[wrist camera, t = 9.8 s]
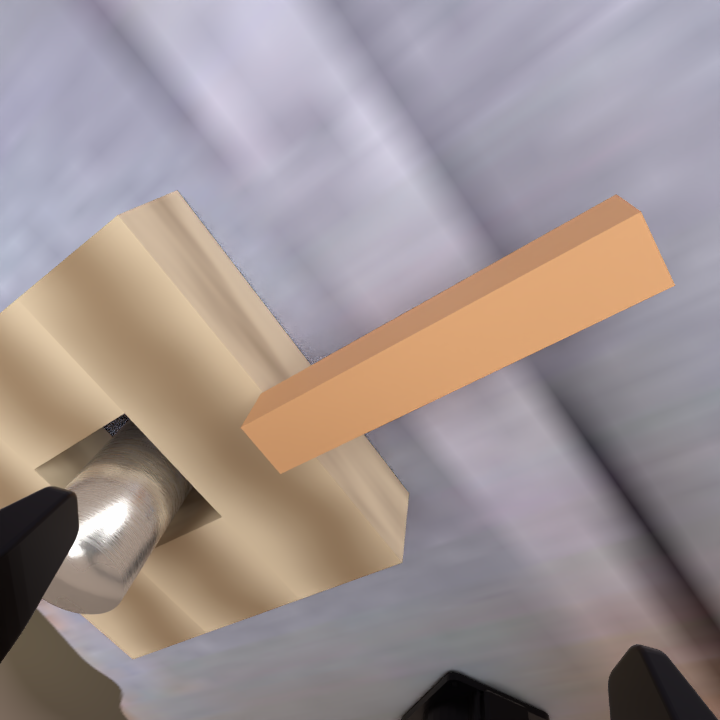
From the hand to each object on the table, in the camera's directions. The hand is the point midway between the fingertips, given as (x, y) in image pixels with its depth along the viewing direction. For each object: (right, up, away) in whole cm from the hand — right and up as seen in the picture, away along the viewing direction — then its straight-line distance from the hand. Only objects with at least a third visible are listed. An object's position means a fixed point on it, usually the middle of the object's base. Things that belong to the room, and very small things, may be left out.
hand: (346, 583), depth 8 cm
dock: (-9, 0, +17) cm, 19 cm away
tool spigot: (-8, 0, +17) cm, 19 cm away
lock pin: (+2, +4, +8) cm, 9 cm away
